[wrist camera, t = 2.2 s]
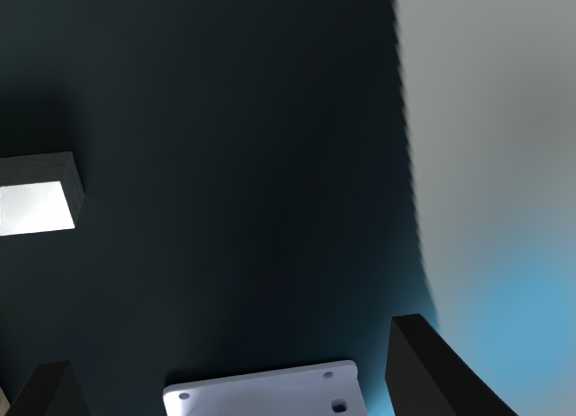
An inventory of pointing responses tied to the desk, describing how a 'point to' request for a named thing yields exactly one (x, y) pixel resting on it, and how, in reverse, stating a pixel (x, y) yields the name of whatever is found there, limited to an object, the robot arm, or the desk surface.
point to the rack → (3, 403)
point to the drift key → (39, 193)
